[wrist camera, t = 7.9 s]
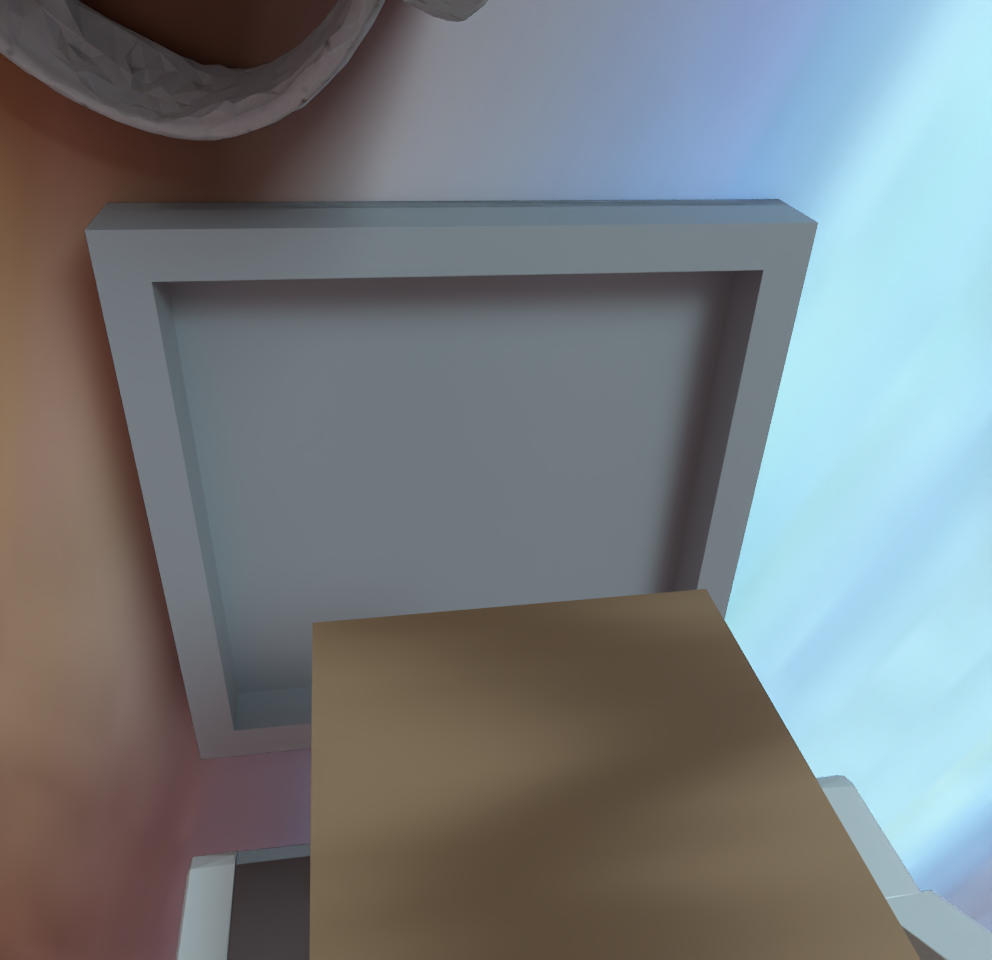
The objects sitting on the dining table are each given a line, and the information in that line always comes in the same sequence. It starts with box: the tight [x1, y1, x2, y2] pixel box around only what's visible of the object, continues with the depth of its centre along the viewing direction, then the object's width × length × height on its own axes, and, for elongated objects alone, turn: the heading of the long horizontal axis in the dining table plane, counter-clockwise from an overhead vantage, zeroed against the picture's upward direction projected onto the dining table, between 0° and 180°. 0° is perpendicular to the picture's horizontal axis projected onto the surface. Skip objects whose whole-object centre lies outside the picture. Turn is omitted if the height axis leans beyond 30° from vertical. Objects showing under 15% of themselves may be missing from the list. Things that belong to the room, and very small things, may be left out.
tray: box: [85, 199, 818, 760], centre depth 17 cm, size 12×12×2 cm
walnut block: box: [309, 589, 921, 960], centre depth 10 cm, size 5×5×5 cm
